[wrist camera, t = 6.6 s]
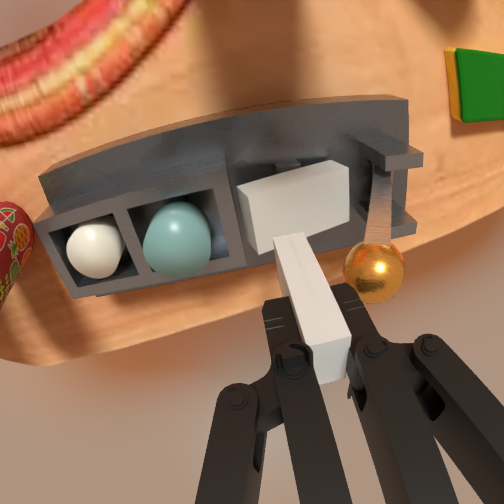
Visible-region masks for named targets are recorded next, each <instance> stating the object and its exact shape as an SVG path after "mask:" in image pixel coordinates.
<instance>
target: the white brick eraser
mask: <svg viewBox="0 0 504 504" xmlns="http://www.w3.org/2000/svg"><path fill="white" fill-rule="evenodd" d="M236 187H237V192H238V197H239V202H240V207H241V212H242V217H243V222H244V227H245V232H246V237H247V241H248V242H249V243H250V244H251V246H252V247H253V248H254V250H255V251H256V252H257V253H258V255H260V254H263V253H265V252H268V251H271V250H273V249H274V244H273V238H274V237H279V236H284V235H289V234H294V233H300V232H303V233H304V235H305V237H308V236H311V235H314V234H316V233H319V232H322V231H324V230H327V229H330V228H332V227H335V226H338V225H340V224H343V223H346V222H348V221H349V168H348V167H346V166H344V165H341V164H339V163H337V162H335V161H332V160H328V161H324V162H320V163H316V164H313V165H309V166H305V167H301V168H298V169H294V170H290V171H287V172H283V173H280V174H276V175H273V176H269V177H266V178H262V179H259V180H255V181H252V182H249V183H245V184H242V185H239V186H236Z"/></svg>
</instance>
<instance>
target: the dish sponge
mask: <svg viewBox="0 0 504 504" xmlns="http://www.w3.org/2000/svg"><path fill="white" fill-rule="evenodd" d="M444 55H445V62H446V69H447V78H448V87H449V99H450V114H451V116H452V117H453V118H454V119H457V120H459V121H463V122H464V123H470V122H480V121H491V120H504V54H498V53H492V52H485V51H478V50H470V49H460V48H449V47H446V48H445V49H444Z"/></svg>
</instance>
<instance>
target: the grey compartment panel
mask: <svg viewBox="0 0 504 504" xmlns="http://www.w3.org/2000/svg"><path fill="white" fill-rule="evenodd" d="M328 160H332V161H335V162H337V163H339V164H341V165H344V166H346V167H348V168H349V221H348V222H346V223H343V224H340V225H338V226H335V227H332V228H330V229H327V230H324V231H322V232H319V233H316V234H314V235H311V236H308V237H306V239H307V241H308V243H309V245H310V247H311V249H312V251H313V253H314V254H317V253H322V252H326V251H331V250H336V249H340V248H345V247H350V246H354V245H356V244H358V243H359V242H361V241H364V238H365V232H366V226H367V219H368V213H369V206H370V198H371V191H372V162H373V163H374V164H376V165H377V166H378V167H380V168H381V169H383V170H384V171H393V188H392V207H391V239H394V238H399V237H403V236H407V235H412V234H416V228H417V221H416V220H415V219H414V218H413V217H412V216H410V215H409V214H408V213H407V212H406V211H405V202H406V190H407V174H408V169H410V168H418V167H423V152H421V151H419V150H417V149H416V148H414V147H412V146H410V145H409V114H408V100H407V99H403V98H399V97H396V96H392V95H356V96H339V97H325V98H314V99H304V100H295V101H287V102H280V103H272V104H266V105H259V106H253V107H247V108H242V109H236V110H231V111H226V112H221V113H216V114H211V115H207V116H202V117H198V118H193V119H189V120H185V121H181V122H177V123H173V124H170V125H166V126H162V127H159V128H155V129H151V130H148V131H145V132H141V133H138V134H135V135H132V136H128V137H125V138H122V139H119V140H116V141H113V142H110V143H107V144H104V145H102V146H99V147H96V148H93V149H91V150H88V151H85V152H83V153H80V154H77V155H75V156H72V157H70V158H67V159H65V160H63V161H60V162H58V163H55V164H54V165H52V166H51V167H50V168H49V169H47V170H46V171H45V172H43V173H42V174H41V175H40V176H38V177H39V180H40V183H41V185H42V188H43V190H44V193H45V195H46V197H47V200H48V202H49V206H48V207H47V209H46V210H45V211H44V212H43V213H42V214H41V215H40V216H39V217H38V218H37V220H36V221H35V222H34V223H33V226H34V228H35V230H36V232H37V234H38V236H39V238H40V240H41V242H42V244H43V246H44V248H45V250H46V252H47V254H48V256H49V257H50V259H51V261H52V263H53V265H54V266H55V268H56V270H57V272H58V273H59V275H60V277H61V279H62V280H63V282H64V284H65V285H66V287H67V289H68V290H69V292H70V294H71V295H72V297H73V298H74V299H77V298H82V297H88V296H93V295H96V297H100V296H105V295H111V294H116V293H121V292H127V291H132V290H137V289H143V288H148V287H153V286H158V285H164V284H169V283H174V282H179V281H184V280H189V279H195V278H200V277H205V276H210V275H215V274H220V273H225V272H230V271H235V270H240V269H245V268H250V267H254V266H259V265H264V264H269V263H274V262H276V258H275V251H274V249H273V250H271V251H268V252H265V253H263V254H260V255H258V253H257V252H256V251H255V250H254V248H253V247H252V246H251V244H250V243H249V242H248V241H247V237H246V232H245V227H244V222H243V217H242V212H241V207H240V202H239V197H238V192H237V187H236V186H239V185H242V184H245V183H249V182H252V181H255V180H259V179H262V178H266V177H269V176H273V175H276V174H280V173H283V172H287V171H290V170H294V169H298V168H301V167H305V166H309V165H313V164H316V163H320V162H324V161H328ZM178 201H181V202H188V203H191V204H193V205H195V206H197V207H199V208H200V209H201V210H202V211H203V212H204V213H205V214H206V216H207V217H208V219H209V222H210V226H211V256H210V259H209V261H208V263H207V265H206V266H205V268H204V269H203V270H201V271H200V272H199V273H197V274H195V275H193V276H191V277H187V278H170V277H167V276H164V275H161V274H160V273H158V272H156V271H155V270H154V269H153V268H151V266H150V265H149V264H148V263H147V261H146V259H145V257H144V253H143V242H144V239H145V236H146V233H147V230H148V227H149V224H150V221H151V219H152V217H153V215H154V213H155V212H156V211H157V210H158V209H159V208H160V207H162V206H163V205H165V204H167V203H171V202H178ZM107 214H108V215H110V216H112V217H113V218H115V220H116V222H117V225H118V227H119V230H120V232H121V234H122V237H123V239H124V241H125V244H126V245H125V248H124V250H123V253H122V255H121V258H120V260H119V263H118V266H117V268H116V270H115V271H114V273H112V274H111V275H110V276H108V277H105V278H99V279H97V278H90V277H87V276H85V275H83V274H81V273H80V272H79V271H77V270H76V269H75V268H74V267H73V265H72V264H71V262H70V261H69V259H68V256H67V250H66V248H67V243H68V240H69V239H70V237H71V235H72V234H73V233H74V231H75V230H76V228H77V227H78V225H79V224H80V222H83V221H87V220H90V219H93V218H97V217H100V216H104V215H107Z"/></svg>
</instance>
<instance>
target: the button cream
mask: <svg viewBox="0 0 504 504" xmlns="http://www.w3.org/2000/svg"><path fill="white" fill-rule="evenodd" d="M125 245H126V244H125V241H124V239H123V237H122V234H121V232H120V230H119V227H118V225H117V222H116V220H115V218H113V217H112V216H110V215H108V214H107V215H104V216H100V217H97V218H93V219H90V220H87V221H83V222H80V224H79V225H78V227H77V228H76V230H75V231H74V233H73V234H72V235H71V237H70V239H69V240H68V243H67V248H66V250H67V256H68V259H69V261H70V262H71V264H72V265H73V267H74V268H75V269H76V270H77V271H79V272H80V273H81V274H83V275H85V276H87V277H90V278H97V279H99V278H105V277H108V276H110V275H111V274H112V273H114V271H115V270H116V268H117V266H118V263H119V260H120V258H121V255H122V253H123V250H124V248H125Z"/></svg>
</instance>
